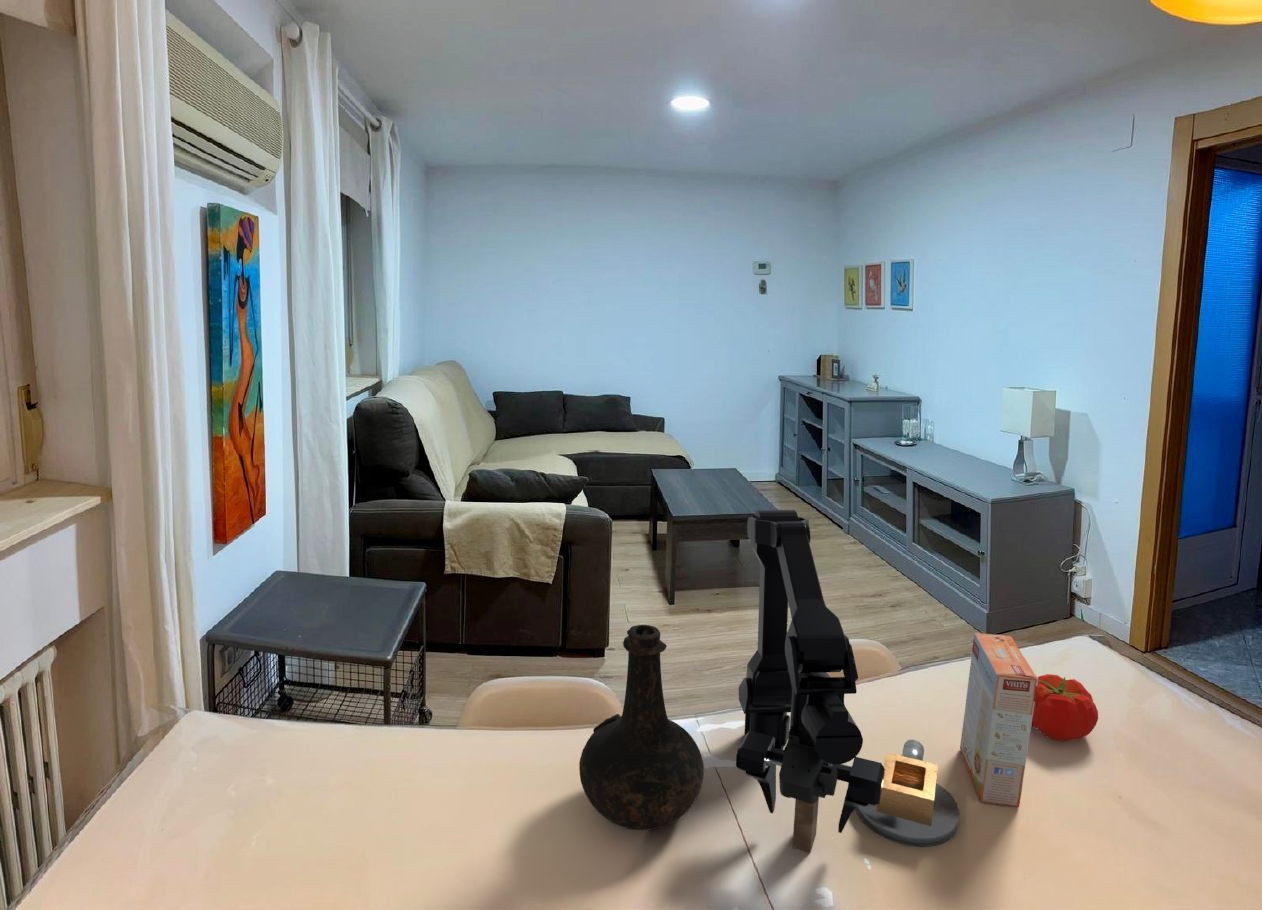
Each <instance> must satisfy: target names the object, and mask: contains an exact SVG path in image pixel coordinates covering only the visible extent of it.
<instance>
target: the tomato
mask: <svg viewBox="0 0 1262 910" xmlns="http://www.w3.org/2000/svg"><path fill="white" fill-rule="evenodd" d="M1037 678H1038V684H1037V691H1036V698H1035V704H1034V711H1033V717H1032V724H1031V727H1033V728H1036V729H1038V731H1039V732H1040V733H1041V734H1042V735H1043V736H1045V737H1047V738H1048V739H1051V740H1053V741H1058V742H1067V741H1068V742H1069V741H1077V740H1080V739H1083V738H1085V737H1086V736H1088V735H1090V733H1092V731H1093V730H1094V728H1095V727H1096V726H1097V724H1098V720H1099V711H1098V708H1097V705H1096V704H1095V702H1094V699H1093V697H1092V694H1091V693H1090V692H1089V691H1088V690H1087V688H1086V687H1085V686H1084V685H1083V683H1081V682H1080V681H1078V680H1076V679H1074V678H1072V679H1066V676H1064V677H1061V676H1059V675H1058V674H1043V675H1039V676H1037Z"/></svg>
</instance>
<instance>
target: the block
mask: <svg viewBox="0 0 1262 910" xmlns="http://www.w3.org/2000/svg"><path fill="white" fill-rule="evenodd" d="M819 799H820V797H818V800H817V802H815V803H813V804H809V803H805V802H804V801H802V800H798V799H795V803H794V819H793V833H792V849H795V850H798V851H801V852H805V853H808V854H811V853H812V849H813V846H814V842H815V840H816V835H817V826H818V813H819V803H820V802H819Z"/></svg>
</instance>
